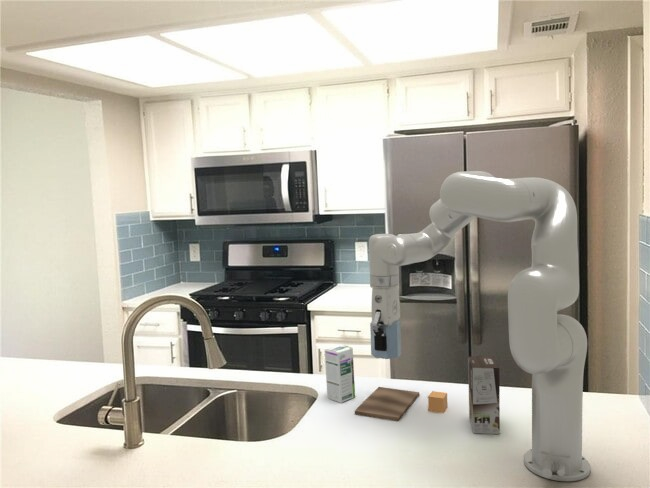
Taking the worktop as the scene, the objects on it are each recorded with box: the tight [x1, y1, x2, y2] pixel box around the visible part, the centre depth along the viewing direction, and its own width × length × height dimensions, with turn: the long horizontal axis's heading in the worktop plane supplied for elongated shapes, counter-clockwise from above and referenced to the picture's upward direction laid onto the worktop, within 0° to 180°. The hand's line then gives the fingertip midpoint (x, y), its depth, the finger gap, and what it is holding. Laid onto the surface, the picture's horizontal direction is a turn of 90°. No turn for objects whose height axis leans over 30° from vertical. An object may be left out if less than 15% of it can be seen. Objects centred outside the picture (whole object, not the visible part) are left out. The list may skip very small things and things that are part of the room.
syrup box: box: [324, 344, 356, 404], centre depth 153 cm, size 6×6×14 cm
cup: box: [369, 320, 402, 360], centre depth 146 cm, size 7×7×9 cm
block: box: [427, 390, 448, 414], centre depth 144 cm, size 4×4×4 cm
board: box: [354, 386, 420, 422], centre depth 148 cm, size 18×12×1 cm, turn 154°
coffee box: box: [467, 355, 501, 435], centre depth 132 cm, size 9×6×16 cm
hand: (386, 345), depth 146 cm, fingers closed on cup, 7 cm apart
